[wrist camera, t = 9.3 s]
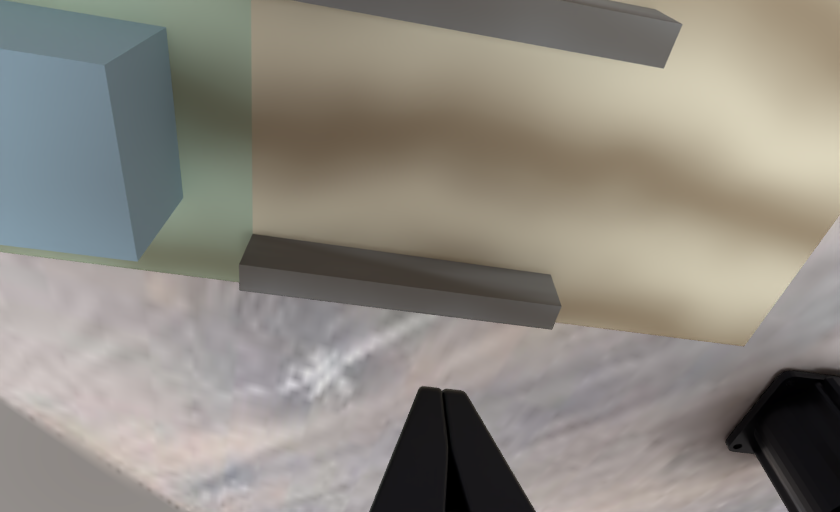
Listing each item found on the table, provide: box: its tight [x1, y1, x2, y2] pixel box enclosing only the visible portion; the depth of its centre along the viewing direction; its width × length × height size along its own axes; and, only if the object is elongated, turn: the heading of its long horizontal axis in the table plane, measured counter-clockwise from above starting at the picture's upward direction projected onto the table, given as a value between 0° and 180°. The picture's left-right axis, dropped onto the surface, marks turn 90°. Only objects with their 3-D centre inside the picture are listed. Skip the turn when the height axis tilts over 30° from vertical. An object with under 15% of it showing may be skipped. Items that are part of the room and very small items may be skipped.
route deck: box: [0, 0, 840, 346], centre depth 18 cm, size 14×42×4 cm, turn 80°
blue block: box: [0, 0, 183, 262], centre depth 16 cm, size 6×6×4 cm
